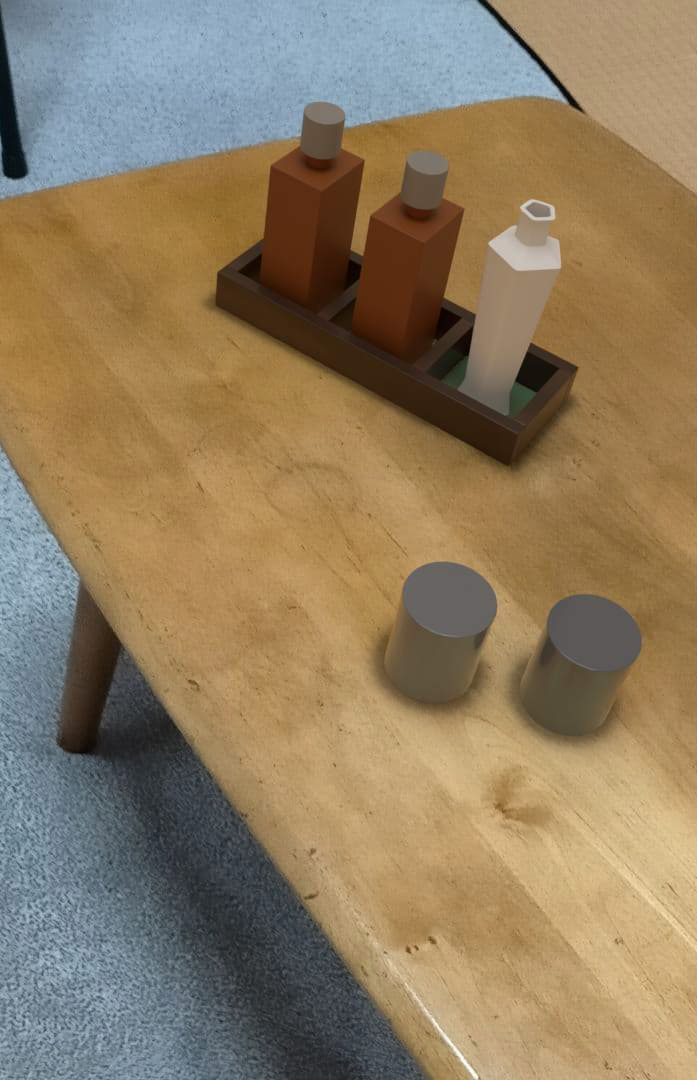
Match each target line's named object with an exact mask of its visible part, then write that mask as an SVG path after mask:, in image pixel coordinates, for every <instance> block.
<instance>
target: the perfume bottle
mask: <svg viewBox="0 0 697 1080" xmlns="http://www.w3.org/2000/svg"><path fill="white" fill-rule="evenodd" d="M519 210H520V211H521V212H520V215H519V219H518V222H517V225H516V224H515V225H511V226H510V227H508V228H507V229H505V230H504V231H502V232H501V233H500V234H498V235H496V237H494V238H492V239H490V241H488V242H487V248H486V255H485V260H484V266H483V272H482V277H481V283H480V289H479V295H478V300H477V307H476V312H475V314H476V318H475V323H474V329H473V335H472V341H471V347H470V352H469V358H468V364H467V370H466V376H465V379H464V380H463V382H462V384H461V385H460V387H459V388H458V391H460V392H462V393H464V394H465V395H467V396H469V397H471V398H473V399H475V400H477V401H479V402H480V403H482V404H484V405H486V406H488V407H490V408H492V409H493V410H495V411H497V412H499V413H501V414H503V415H508V414H509V406H510V391H511V389H512V386H513V384H514V382H515V379H516V377H517V374H518V372H519V369H520V367H521V364H522V362H523V359H524V357H525V355H526V352H527V350H528V347H529V345H530V342H531V343H532V340H533V337H534V335H535V332H536V330H537V328H538V325H539V323H540V321H541V317H542V315H543V313H544V311H545V308H546V305H547V303H548V300H549V298H550V295H551V293H552V291H553V288H554V286H555V283H556V281H557V279H558V276H559V273H560V271H561V268H562V259H561V257H562V256H561V248H560V247H561V246H560V240H559V239H557V238H554V237H553V236H550V235H549V232H550V229H551V227H552V222H553V221H554V220H556V209H555V206H554V205H553V204H551V203H548V202H544V201H541V200H538V199H534V198H533V199H532V198H531V199H529V200H527V201H526V202H525V203H523V204H522V205H520V207H519Z"/></svg>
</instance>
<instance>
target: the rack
mask: <svg viewBox="0 0 697 1080" xmlns="http://www.w3.org/2000/svg"><path fill="white" fill-rule="evenodd" d="M263 240H264V237H263V238H262V239H260V240H259V241H258V242H256V243H255V244H254V245H252V246H251V247H249V248H248V249H246V250H245V251H244V252H242V253H241V254H240V255H239V256H237V257H236V258H234V259H233V260H231V261H230V262H229V263H227V264H226V265H224V266H223V267H221V269H219V270H218V271H217V272H216V287H215V303H214V305H215V306H216V307H218V308H220V309H221V310H223V311H225V312H227V313H229V314H230V315H232V316H234V317H236V318H238V319H239V320H242V321H243V322H245V323H247V324H249V325H251V327H254V328H256V329H258V330H259V331H261V332H263V333H265V334H267V335H269V336H270V337H272V338H274V339H276V340H278V341H279V342H281V343H283V344H285V345H287V346H288V347H290V348H292V349H294V350H296V351H298V353H302V354H303V355H305V356H306V357H309V358H311V359H312V360H314V361H316V362H317V363H319V364H322V365H323V366H325V367H327V368H328V369H330V370H332V371H334V372H336V373H338V374H339V375H341V376H343V377H345V378H347V379H349V380H350V381H352V382H353V383H356V384H358V385H359V386H361V387H363V388H365V389H366V390H369V391H370V392H372V393H373V394H376V395H377V396H379V397H381V398H383V399H385V400H387V401H389V402H390V403H392V404H394V405H396V406H397V407H399V408H402V409H403V410H405V411H407V412H409V413H410V414H412V415H414V416H416V417H417V418H419V419H421V420H423V421H425V422H426V423H428V424H430V425H432V426H433V427H436V428H438V429H439V430H441V431H443V432H445V433H447V434H449V435H450V436H452V437H454V438H455V439H457V440H459V441H461V442H463V443H465V444H467V445H468V446H470V447H472V448H474V449H476V450H477V451H479V452H481V453H482V454H484V455H486V456H488V457H490V458H492V459H493V460H495V461H497V462H499V463H501V464H503V465H505V466H507V467H510V466H511V464H512V463H513V462H514V461H515V460H516V459H517V458H518V456H519V455H520V454H521V453H522V452H524V451H523V450H525V448H526V447H527V446H528V445H529V444H530V443H531V441H533V439H534V438H535V437H536V436H537V434H538V433H539V432H541V430H542V429H543V428H544V427H545V425H546V424H547V423H548V422H549V421H550V420H551V419H552V417H554V415H556V413H557V412H558V410H560V408H562V406H563V405H564V404H565V402H566V401H567V400H568V399H569V396H570V394H571V391H572V388H573V386H574V383H575V379H576V377H577V374H578V372H579V369H580V368H579V366H577V365H576V364H573V363H572V362H571V361H570V362H569V361H568V360H565V359H564V358H562V357H561V356H558V355H556V354H554V353H552V352H551V351H548V350H546V349H545V348H542V347H541V346H538V345H536V343H533V342H532V341H531V342H530V345H529V347H528V350H527V352H526V355H525V357H524V359H523V362H522V364H521V367H520V369H519V372H518V374H517V377H516V379H515V382H514V384H513V386H512V389H511V391H510V406H509V414H508V415H503V414H501V413H499V412H497V411H495V410H493V409H492V408H490V407H488V406H486V405H484V404H482V403H480V402H479V401H477V400H475V399H473V398H471V397H469V396H467V395H465V394H464V393H462V392H460V391H458V388H459V387H460V385H461V384H462V382H463V380H464V379H465V376H466V370H467V364H468V358H469V352H470V347H471V341H472V335H473V329H474V323H475V318H476V313H475V312H472V311H470V310H469V309H467V308H466V307H463V306H461V305H459V304H457V303H455V302H453V301H451V300H449V299H447V298H445V297H444V298H443V303H442V307H441V311H440V315H439V320H438V324H437V328H436V332H435V336H434V341H436V342H435V343H433V345H432V347H431V348H430V349H429V350H428V351H427V352H426V353H425V354H424V355H422V356H421V357H420V358H419V359H418V360H417V361H416V362H415V363H414V364H413V365H410V364H408V363H406V362H404V361H402V360H400V359H399V358H397V357H395V356H393V355H391V354H389V353H387V352H385V351H384V350H382V349H380V348H378V347H376V346H374V345H372V344H371V343H369V342H367V341H365V340H363V339H361V338H359V337H358V336H356V335H354V334H352V333H350V332H351V326H352V320H353V314H354V308H355V302H356V297H357V291H358V285H359V279H360V273H361V267H362V261H363V255H362V254H359V253H358V252H356V251H354V250H352V249H351V250H350V257H349V263H348V269H347V275H346V282H345V288H344V292H343V293H342V294H341V295H339V296H338V297H337V298H336V299H334V300H333V301H332V302H331V303H330V304H328V305H327V306H326V307H325V308H324V309H322V310H321V311H320V312H319V313H318V314H315V313H313V312H311V311H309V310H307V309H305V308H304V307H302V306H300V305H298V304H296V303H294V302H292V301H291V300H289V299H287V298H285V297H283V296H281V295H279V294H278V293H276V292H274V291H272V290H270V289H268V288H266V287H265V286H263V285H261V284H259V281H260V271H261V260H262V250H263Z"/></svg>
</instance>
